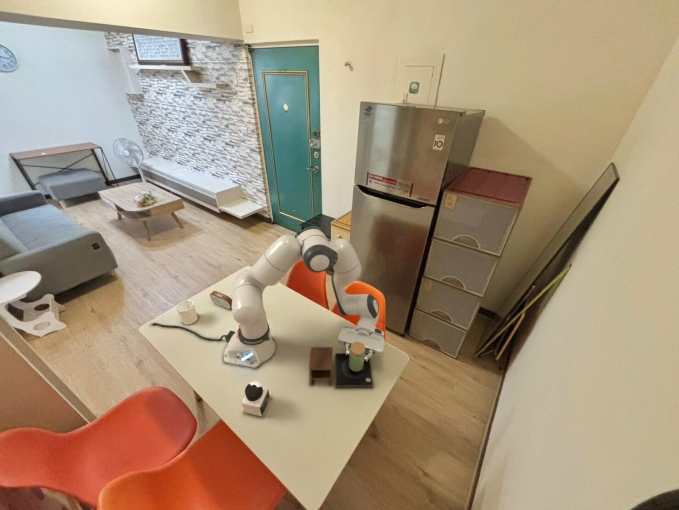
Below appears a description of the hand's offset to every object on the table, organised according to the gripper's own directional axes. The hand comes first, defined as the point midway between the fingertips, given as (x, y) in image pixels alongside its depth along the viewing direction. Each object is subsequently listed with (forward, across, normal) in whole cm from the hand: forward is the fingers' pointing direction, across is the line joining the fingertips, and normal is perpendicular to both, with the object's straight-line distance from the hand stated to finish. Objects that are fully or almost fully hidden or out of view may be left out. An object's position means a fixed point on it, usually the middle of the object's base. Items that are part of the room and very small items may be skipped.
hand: (356, 357), depth 107 cm
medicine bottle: (+26, -32, +11) cm, 42 cm away
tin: (-14, -78, +10) cm, 80 cm away
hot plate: (0, -1, +11) cm, 11 cm away
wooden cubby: (+5, -13, +11) cm, 18 cm away
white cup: (0, -88, +11) cm, 88 cm away
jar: (-1, 0, +6) cm, 6 cm away
